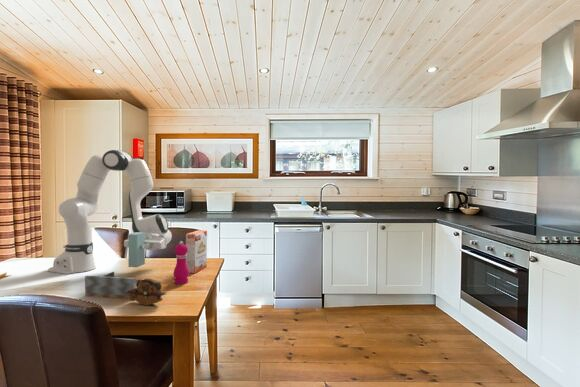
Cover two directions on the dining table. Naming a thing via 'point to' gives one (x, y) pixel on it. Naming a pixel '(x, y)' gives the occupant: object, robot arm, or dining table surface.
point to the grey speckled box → (109, 286)
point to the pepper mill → (181, 264)
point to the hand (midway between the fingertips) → (135, 246)
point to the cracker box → (196, 250)
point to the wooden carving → (146, 292)
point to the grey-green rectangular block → (136, 249)
